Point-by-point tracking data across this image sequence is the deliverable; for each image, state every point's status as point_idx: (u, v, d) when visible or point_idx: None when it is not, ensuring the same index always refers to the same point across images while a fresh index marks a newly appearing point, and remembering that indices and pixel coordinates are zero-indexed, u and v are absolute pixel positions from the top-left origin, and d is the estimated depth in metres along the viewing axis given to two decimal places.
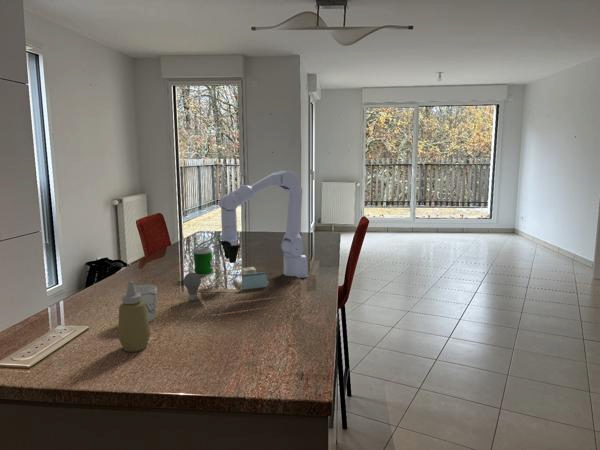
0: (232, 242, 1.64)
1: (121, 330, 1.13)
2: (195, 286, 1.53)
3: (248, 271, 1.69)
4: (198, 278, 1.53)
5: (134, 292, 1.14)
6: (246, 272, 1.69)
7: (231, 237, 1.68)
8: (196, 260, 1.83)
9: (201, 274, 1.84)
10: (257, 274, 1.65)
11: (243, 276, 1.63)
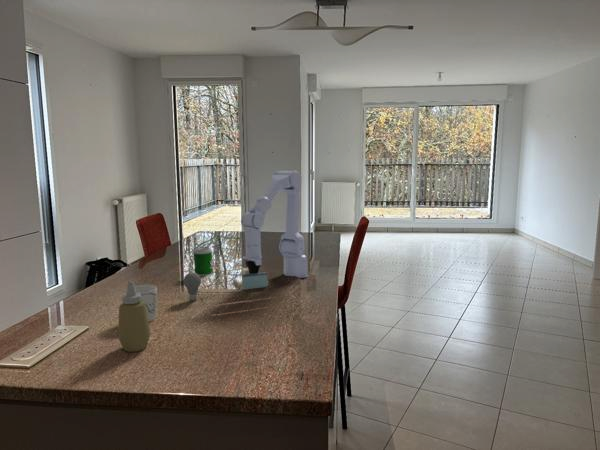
0: (257, 262, 1.58)
1: (121, 330, 1.13)
2: (195, 286, 1.53)
3: (248, 271, 1.69)
4: (198, 278, 1.53)
5: (134, 292, 1.14)
6: (246, 272, 1.69)
7: (255, 256, 1.62)
8: (196, 260, 1.83)
9: (201, 274, 1.84)
10: (257, 274, 1.64)
11: (243, 276, 1.62)
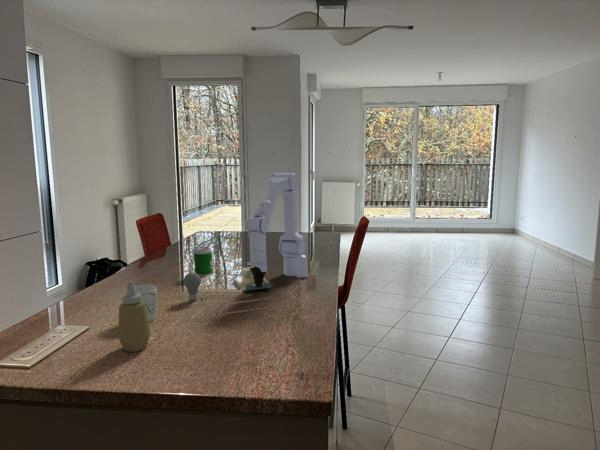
0: (262, 268, 1.52)
1: (121, 330, 1.13)
2: (195, 286, 1.53)
3: (248, 271, 1.69)
4: (198, 278, 1.53)
5: (134, 292, 1.14)
6: (246, 272, 1.69)
7: (260, 262, 1.56)
8: (196, 260, 1.83)
9: (201, 274, 1.84)
10: (261, 287, 1.61)
11: (247, 289, 1.59)
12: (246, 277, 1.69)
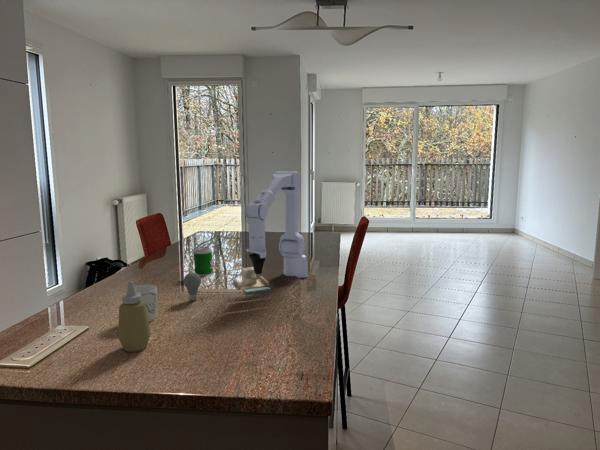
0: (261, 254, 1.52)
1: (121, 330, 1.13)
2: (195, 286, 1.53)
3: (248, 271, 1.69)
4: (198, 278, 1.53)
5: (134, 292, 1.14)
6: (246, 272, 1.69)
7: (260, 249, 1.56)
8: (196, 260, 1.83)
9: (201, 274, 1.84)
10: None
11: None
12: (246, 277, 1.69)
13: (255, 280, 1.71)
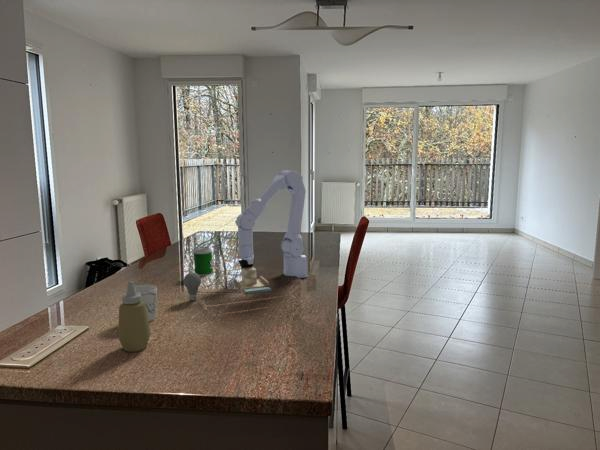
0: (249, 261, 1.68)
1: (121, 330, 1.13)
2: (195, 286, 1.53)
3: (248, 271, 1.69)
4: (198, 278, 1.53)
5: (134, 292, 1.14)
6: (246, 272, 1.69)
7: (248, 255, 1.72)
8: (196, 260, 1.83)
9: (201, 274, 1.84)
10: None
11: None
12: (246, 277, 1.69)
13: (255, 280, 1.71)
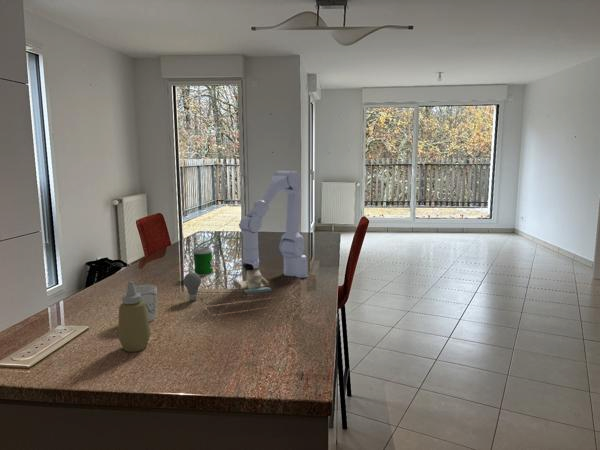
0: (254, 265, 1.61)
1: (121, 330, 1.13)
2: (195, 286, 1.53)
3: (253, 277, 1.62)
4: (198, 278, 1.53)
5: (134, 292, 1.14)
6: (251, 278, 1.62)
7: (253, 259, 1.65)
8: (196, 260, 1.83)
9: (201, 274, 1.84)
10: None
11: None
12: (250, 282, 1.63)
13: (259, 285, 1.65)
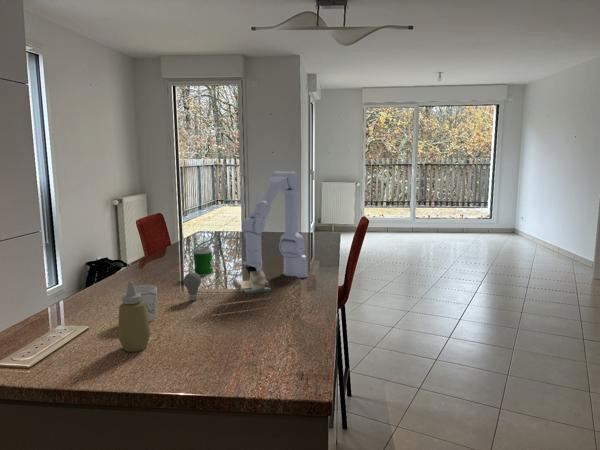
0: (258, 268, 1.57)
1: (121, 330, 1.13)
2: (195, 286, 1.53)
3: (257, 278, 1.59)
4: (198, 278, 1.53)
5: (134, 292, 1.14)
6: (254, 279, 1.58)
7: (256, 262, 1.62)
8: (196, 260, 1.83)
9: (201, 274, 1.84)
10: None
11: None
12: (254, 284, 1.59)
13: (263, 286, 1.61)
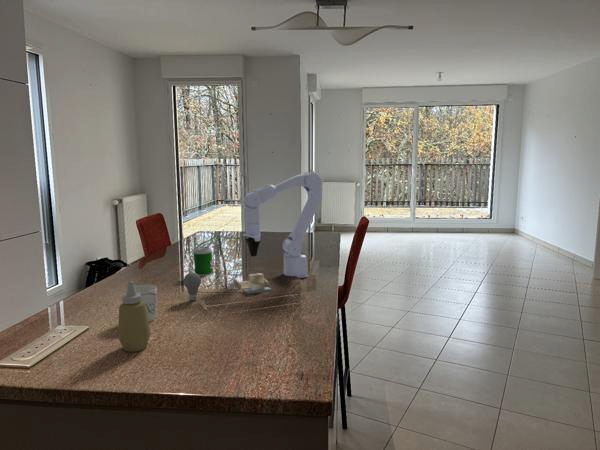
0: (256, 238, 1.71)
1: (121, 330, 1.13)
2: (195, 286, 1.53)
3: (255, 276, 1.60)
4: (198, 278, 1.53)
5: (134, 292, 1.14)
6: (253, 277, 1.60)
7: (255, 233, 1.76)
8: (196, 260, 1.83)
9: (201, 274, 1.84)
10: None
11: None
12: (253, 282, 1.60)
13: (263, 286, 1.61)
